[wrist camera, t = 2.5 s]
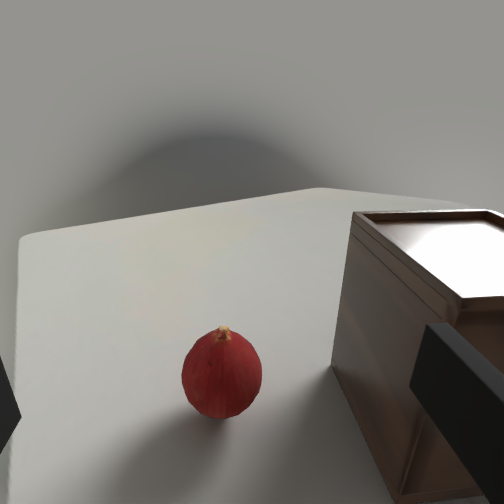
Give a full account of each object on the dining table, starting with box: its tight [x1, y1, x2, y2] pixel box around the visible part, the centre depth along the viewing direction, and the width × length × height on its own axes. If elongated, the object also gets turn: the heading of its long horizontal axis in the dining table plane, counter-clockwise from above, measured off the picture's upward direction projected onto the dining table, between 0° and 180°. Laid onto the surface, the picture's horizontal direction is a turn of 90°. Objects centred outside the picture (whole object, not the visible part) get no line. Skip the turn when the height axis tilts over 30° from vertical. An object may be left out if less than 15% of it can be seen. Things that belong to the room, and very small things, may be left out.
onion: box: [182, 326, 262, 419], centre depth 25 cm, size 6×6×8 cm
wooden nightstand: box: [331, 209, 504, 504], centre depth 23 cm, size 11×12×15 cm
